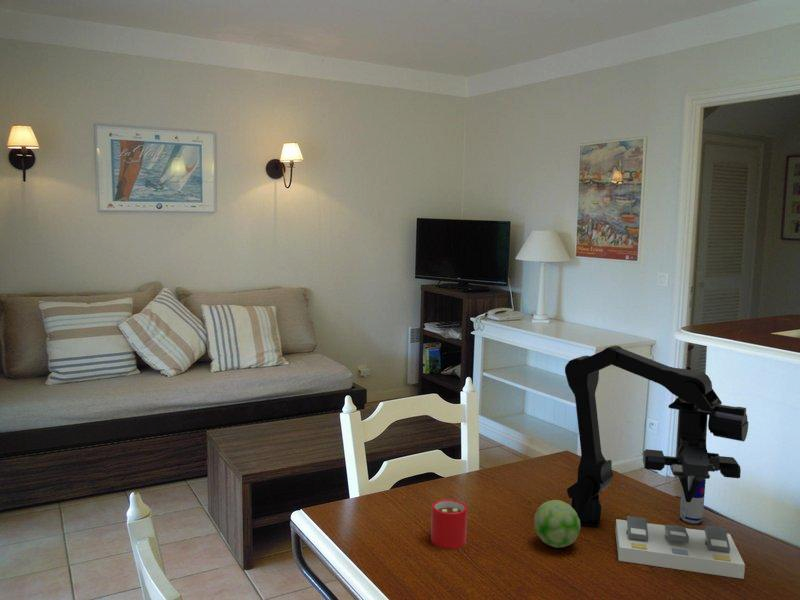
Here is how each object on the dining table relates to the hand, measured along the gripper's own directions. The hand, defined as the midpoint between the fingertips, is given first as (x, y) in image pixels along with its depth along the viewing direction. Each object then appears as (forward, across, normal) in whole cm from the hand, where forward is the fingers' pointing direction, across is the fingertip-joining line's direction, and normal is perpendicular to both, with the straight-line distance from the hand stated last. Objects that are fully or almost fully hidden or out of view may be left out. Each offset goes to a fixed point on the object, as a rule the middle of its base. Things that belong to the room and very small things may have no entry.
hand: (687, 501), depth 142 cm
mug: (+11, -51, -9) cm, 53 cm away
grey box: (+7, -2, -2) cm, 7 cm away
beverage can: (+12, +4, +18) cm, 21 cm away
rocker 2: (+7, +6, -2) cm, 9 cm away
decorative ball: (+11, -27, -6) cm, 30 cm away
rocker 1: (+7, -10, -2) cm, 12 cm away
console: (+11, -2, -2) cm, 12 cm away
